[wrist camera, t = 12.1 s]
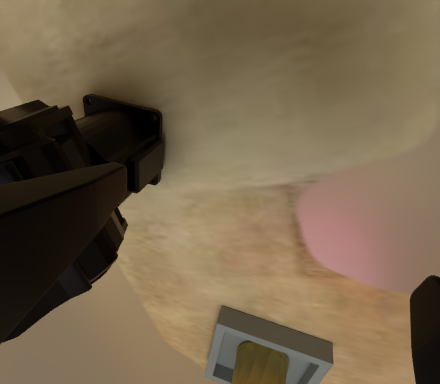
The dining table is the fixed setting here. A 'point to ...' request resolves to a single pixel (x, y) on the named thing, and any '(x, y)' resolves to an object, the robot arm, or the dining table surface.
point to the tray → (270, 337)
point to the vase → (259, 365)
